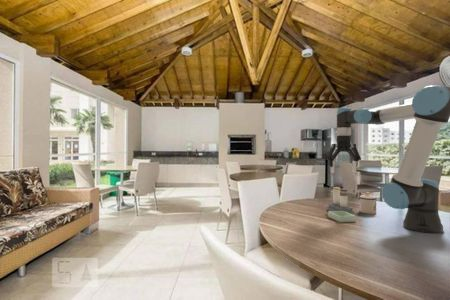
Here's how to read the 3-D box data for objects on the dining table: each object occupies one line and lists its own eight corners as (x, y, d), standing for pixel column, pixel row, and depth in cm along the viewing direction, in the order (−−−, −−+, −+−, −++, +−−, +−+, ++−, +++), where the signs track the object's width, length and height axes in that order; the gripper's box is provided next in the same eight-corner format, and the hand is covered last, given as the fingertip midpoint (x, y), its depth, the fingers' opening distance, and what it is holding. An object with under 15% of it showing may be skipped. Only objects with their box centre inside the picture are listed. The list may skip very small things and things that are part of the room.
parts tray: (355, 221, 139) (355, 215, 139) (339, 222, 137) (339, 216, 137) (343, 216, 149) (343, 210, 149) (327, 216, 148) (327, 211, 148)
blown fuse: (349, 211, 153) (349, 189, 153) (342, 211, 153) (342, 190, 152) (344, 209, 157) (344, 188, 157) (338, 209, 157) (338, 188, 156)
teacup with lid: (378, 214, 153) (378, 194, 153) (360, 213, 156) (360, 193, 156) (374, 210, 164) (374, 190, 164) (357, 209, 167) (357, 190, 167)
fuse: (341, 208, 160) (341, 188, 160) (335, 208, 159) (335, 188, 159) (337, 206, 164) (337, 187, 164) (331, 207, 163) (331, 187, 163)
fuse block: (353, 215, 152) (353, 207, 152) (340, 215, 151) (340, 208, 151) (339, 209, 166) (339, 202, 166) (327, 209, 165) (327, 203, 165)
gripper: (359, 135, 160) (359, 171, 161) (320, 135, 156) (319, 172, 157) (367, 135, 153) (367, 172, 153) (326, 134, 149) (326, 173, 149)
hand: (343, 172), depth 155 cm, fingers open, 13 cm apart
